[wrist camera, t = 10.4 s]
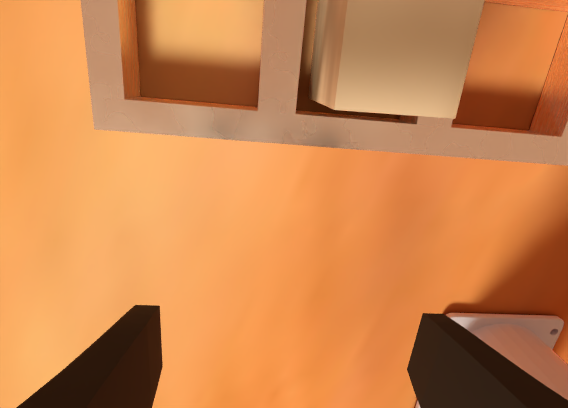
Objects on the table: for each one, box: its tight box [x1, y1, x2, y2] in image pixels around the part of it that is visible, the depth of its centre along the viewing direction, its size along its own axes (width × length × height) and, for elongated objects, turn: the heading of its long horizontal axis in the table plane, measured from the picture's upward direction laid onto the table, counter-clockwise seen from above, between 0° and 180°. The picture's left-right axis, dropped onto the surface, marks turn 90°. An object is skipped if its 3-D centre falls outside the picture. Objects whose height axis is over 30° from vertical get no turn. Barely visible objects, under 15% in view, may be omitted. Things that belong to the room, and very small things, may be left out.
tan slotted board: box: [81, 0, 568, 166], centre depth 15 cm, size 8×22×2 cm, turn 85°
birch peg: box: [308, 0, 485, 119], centre depth 13 cm, size 4×4×6 cm
